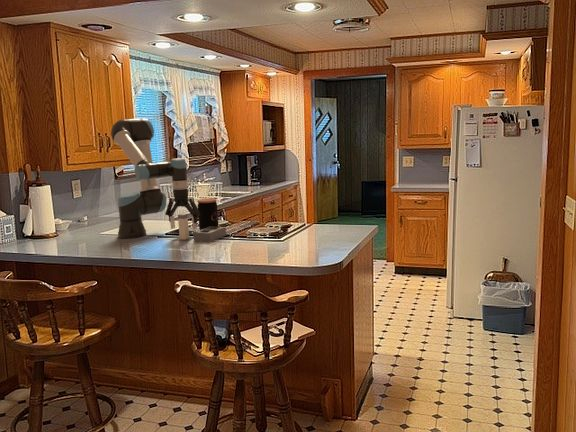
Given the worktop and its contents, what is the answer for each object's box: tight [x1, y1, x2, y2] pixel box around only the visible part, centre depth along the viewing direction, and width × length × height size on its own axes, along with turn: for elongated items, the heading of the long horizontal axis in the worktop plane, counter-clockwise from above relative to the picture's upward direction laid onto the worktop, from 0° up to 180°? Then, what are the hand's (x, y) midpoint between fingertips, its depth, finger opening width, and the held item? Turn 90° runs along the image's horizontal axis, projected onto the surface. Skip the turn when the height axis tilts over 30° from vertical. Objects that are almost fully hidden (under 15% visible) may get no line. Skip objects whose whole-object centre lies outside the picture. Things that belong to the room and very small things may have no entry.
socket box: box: [192, 226, 227, 243], centre depth 291 cm, size 10×16×5 cm, turn 156°
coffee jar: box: [196, 198, 220, 230], centre depth 309 cm, size 11×11×18 cm
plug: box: [177, 213, 190, 240], centre depth 292 cm, size 4×4×13 cm
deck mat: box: [171, 236, 194, 242], centre depth 293 cm, size 10×10×1 cm
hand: (183, 228), depth 292 cm, fingers open, 13 cm apart
